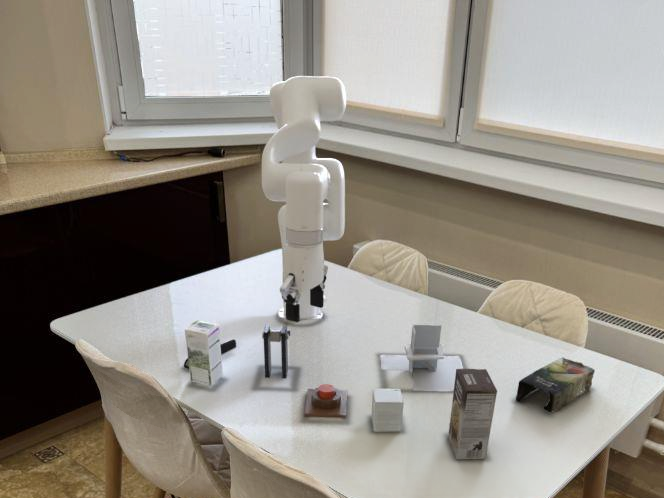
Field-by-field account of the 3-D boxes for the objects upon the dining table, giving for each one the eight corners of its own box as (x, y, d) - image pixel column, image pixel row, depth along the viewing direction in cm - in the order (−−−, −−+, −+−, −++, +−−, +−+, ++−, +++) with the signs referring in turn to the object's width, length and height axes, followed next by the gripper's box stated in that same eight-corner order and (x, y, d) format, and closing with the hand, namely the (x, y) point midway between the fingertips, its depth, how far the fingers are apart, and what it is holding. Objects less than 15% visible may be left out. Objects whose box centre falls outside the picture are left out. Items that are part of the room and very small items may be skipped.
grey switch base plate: (472, 391, 163) (478, 347, 157) (384, 390, 162) (387, 345, 156) (459, 356, 179) (464, 314, 173) (379, 354, 178) (382, 312, 172)
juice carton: (557, 373, 173) (562, 351, 169) (593, 388, 167) (599, 365, 164) (513, 401, 160) (517, 378, 157) (550, 418, 155) (555, 394, 151)
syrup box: (224, 379, 164) (219, 322, 156) (211, 390, 159) (206, 333, 151) (203, 375, 165) (197, 318, 157) (190, 386, 160) (183, 328, 153)
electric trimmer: (240, 352, 177) (239, 340, 175) (193, 372, 166) (192, 360, 164) (230, 348, 179) (229, 336, 177) (182, 367, 168) (181, 355, 166)
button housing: (307, 396, 159) (307, 380, 156) (346, 397, 159) (347, 382, 157) (304, 421, 149) (304, 405, 147) (345, 422, 149) (346, 407, 147)
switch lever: (270, 337, 170) (270, 327, 169) (290, 338, 170) (290, 328, 170) (263, 341, 158) (263, 330, 158) (285, 342, 158) (285, 331, 158)
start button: (318, 390, 154) (318, 383, 153) (334, 391, 154) (335, 384, 153) (317, 398, 151) (317, 391, 150) (334, 399, 151) (334, 392, 150)
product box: (370, 417, 152) (372, 387, 148) (398, 417, 152) (400, 387, 148) (373, 432, 147) (374, 402, 143) (401, 432, 147) (404, 402, 143)
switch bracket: (260, 367, 170) (258, 318, 163) (297, 368, 170) (296, 320, 163) (254, 388, 161) (252, 338, 154) (293, 390, 161) (292, 339, 154)
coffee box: (446, 435, 147) (455, 367, 138) (476, 435, 147) (486, 367, 139) (455, 460, 139) (464, 390, 130) (486, 459, 140) (498, 390, 131)
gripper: (311, 223, 151) (311, 297, 160) (265, 242, 138) (268, 322, 147) (341, 229, 148) (339, 304, 157) (297, 249, 135) (298, 330, 144)
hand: (305, 313), depth 152 cm, fingers open, 9 cm apart
